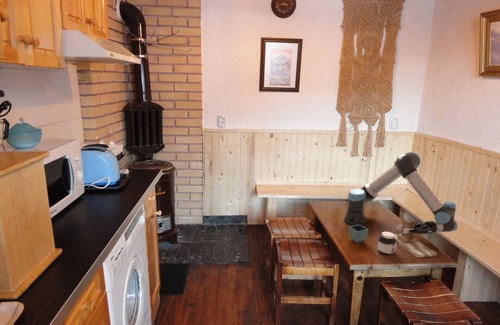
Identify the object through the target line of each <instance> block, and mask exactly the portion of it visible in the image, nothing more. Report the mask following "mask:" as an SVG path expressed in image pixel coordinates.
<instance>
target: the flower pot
mask: <svg viewBox="0 0 500 325" xmlns="http://www.w3.org/2000/svg"><path fill="white" fill-rule="evenodd" d="M348 233H349V237H350V239H351V240H352V241H353V242H355V243H356V244H359V243H363V242H364V241H365V240H366V239H367V237H368V233H369V229H368V228H367V227H365V226H363V225H350V226H348Z"/></svg>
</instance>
